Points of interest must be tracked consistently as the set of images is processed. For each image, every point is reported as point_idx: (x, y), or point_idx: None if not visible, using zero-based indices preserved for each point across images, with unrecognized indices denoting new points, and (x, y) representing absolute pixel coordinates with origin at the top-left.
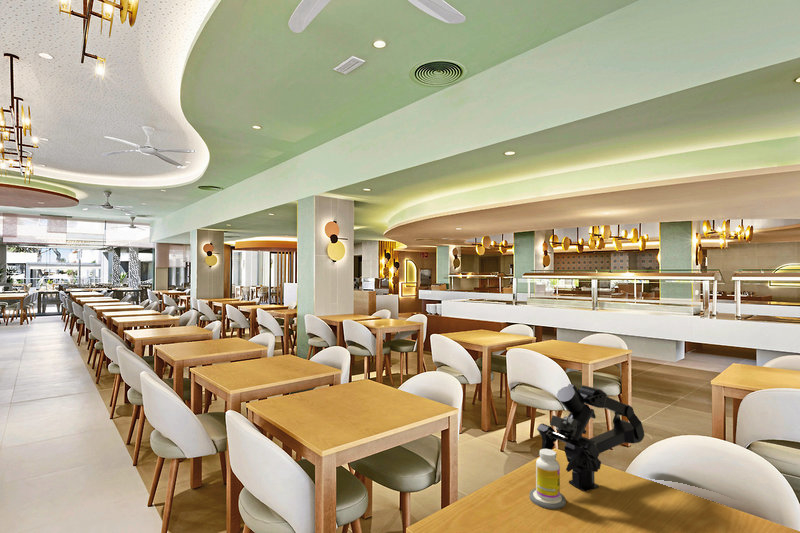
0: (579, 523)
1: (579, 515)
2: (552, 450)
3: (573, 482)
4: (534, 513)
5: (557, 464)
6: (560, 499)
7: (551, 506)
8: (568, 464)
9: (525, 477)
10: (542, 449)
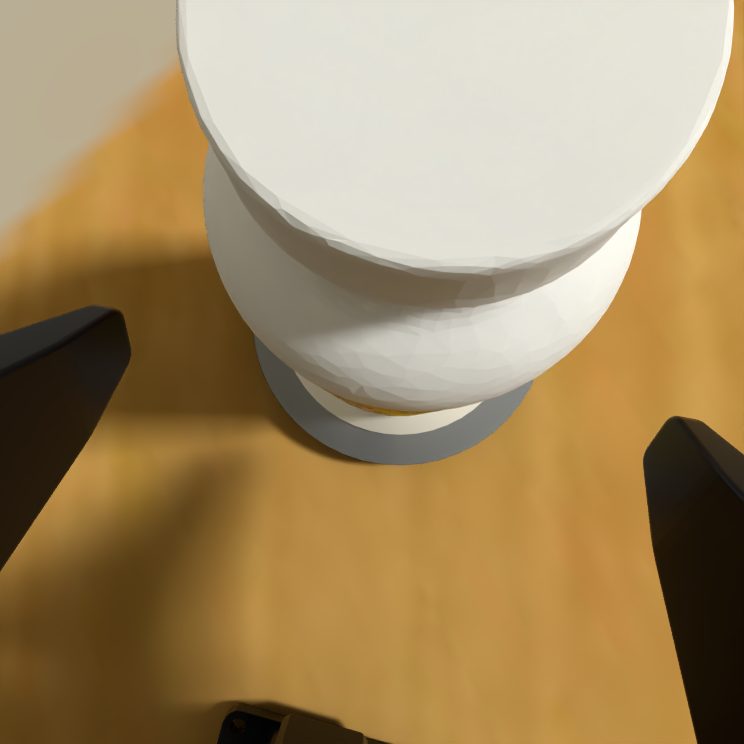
0: (85, 202)
1: (125, 300)
2: (403, 232)
3: (349, 741)
4: None
5: (213, 185)
6: None
7: None
8: (34, 341)
9: None
10: (691, 28)
